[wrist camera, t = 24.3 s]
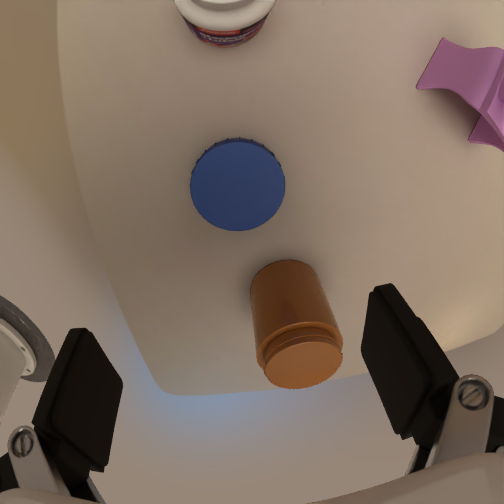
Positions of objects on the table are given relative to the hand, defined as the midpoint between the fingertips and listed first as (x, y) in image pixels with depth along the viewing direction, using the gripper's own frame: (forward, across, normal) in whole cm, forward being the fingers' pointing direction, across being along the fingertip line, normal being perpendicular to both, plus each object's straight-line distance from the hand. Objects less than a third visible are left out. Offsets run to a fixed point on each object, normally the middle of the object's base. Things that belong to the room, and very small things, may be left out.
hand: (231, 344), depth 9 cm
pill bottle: (+16, -2, -14) cm, 21 cm away
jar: (+16, -4, +10) cm, 19 cm away
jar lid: (+15, -1, 0) cm, 15 cm away
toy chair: (+16, -22, -8) cm, 28 cm away
